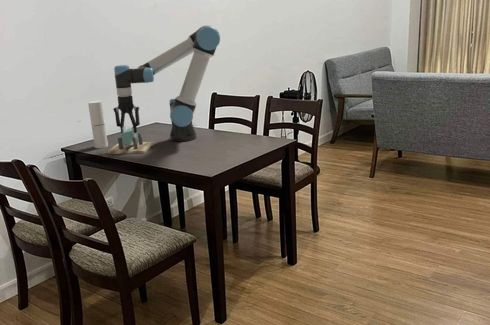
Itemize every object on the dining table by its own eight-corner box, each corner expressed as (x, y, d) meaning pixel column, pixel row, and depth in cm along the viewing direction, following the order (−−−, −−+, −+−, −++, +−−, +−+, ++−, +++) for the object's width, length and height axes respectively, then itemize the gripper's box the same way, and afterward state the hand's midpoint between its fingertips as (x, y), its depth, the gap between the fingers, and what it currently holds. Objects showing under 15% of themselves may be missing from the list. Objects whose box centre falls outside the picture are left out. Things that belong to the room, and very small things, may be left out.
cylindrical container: (104, 148, 267) (97, 102, 260) (92, 148, 269) (85, 103, 262) (110, 144, 274) (104, 100, 267) (98, 144, 276) (92, 100, 268)
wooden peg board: (154, 143, 270) (152, 131, 268) (144, 152, 253) (142, 139, 251) (119, 144, 273) (117, 132, 271) (107, 153, 256) (105, 140, 253)
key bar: (130, 144, 256) (129, 133, 254) (122, 144, 257) (121, 133, 255) (138, 138, 268) (136, 128, 266) (130, 138, 268) (128, 128, 266)
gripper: (143, 93, 257) (147, 136, 264) (111, 94, 259) (116, 137, 266) (138, 96, 250) (143, 140, 257) (105, 97, 252) (111, 141, 259)
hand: (129, 138), depth 261 cm, fingers closed on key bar, 4 cm apart
